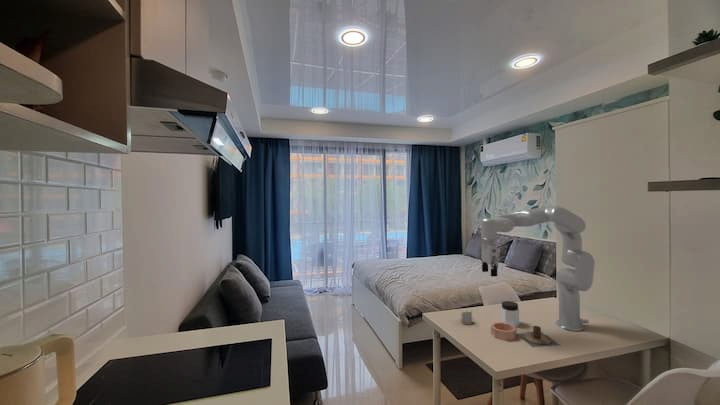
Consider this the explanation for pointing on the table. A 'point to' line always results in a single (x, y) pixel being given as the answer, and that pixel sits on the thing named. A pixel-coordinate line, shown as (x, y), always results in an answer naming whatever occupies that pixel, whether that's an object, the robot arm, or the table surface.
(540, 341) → the lid
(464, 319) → the architectural model
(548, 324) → the table surface
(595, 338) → the table surface
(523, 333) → the mat
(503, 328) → the bowl
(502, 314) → the jar
